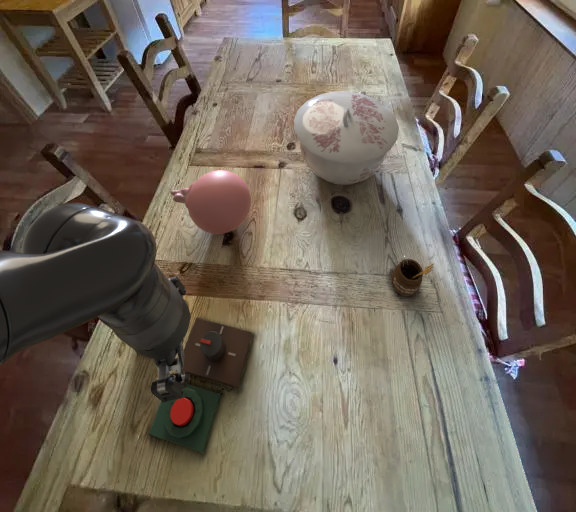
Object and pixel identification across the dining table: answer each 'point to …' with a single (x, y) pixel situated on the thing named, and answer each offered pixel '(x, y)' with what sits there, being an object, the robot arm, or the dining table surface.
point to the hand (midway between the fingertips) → (183, 347)
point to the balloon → (216, 201)
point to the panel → (230, 364)
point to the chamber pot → (345, 135)
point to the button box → (196, 428)
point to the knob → (212, 346)
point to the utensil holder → (408, 276)
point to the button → (182, 411)
